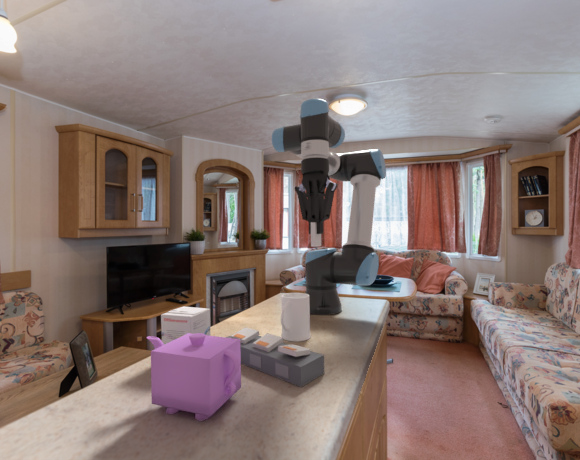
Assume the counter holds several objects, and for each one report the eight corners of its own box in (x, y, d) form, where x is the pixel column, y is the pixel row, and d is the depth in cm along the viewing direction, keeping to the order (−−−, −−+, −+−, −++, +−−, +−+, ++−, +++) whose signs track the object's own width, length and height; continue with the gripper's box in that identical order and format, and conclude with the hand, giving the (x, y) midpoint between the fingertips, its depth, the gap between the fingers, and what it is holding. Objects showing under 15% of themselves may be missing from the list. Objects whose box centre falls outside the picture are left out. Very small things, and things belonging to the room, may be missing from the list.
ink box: (212, 353, 84) (211, 307, 84) (191, 367, 76) (190, 316, 76) (183, 349, 86) (182, 305, 86) (160, 362, 78) (160, 313, 78)
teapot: (253, 398, 62) (252, 330, 61) (224, 429, 52) (222, 350, 52) (166, 381, 68) (165, 321, 68) (126, 407, 59) (125, 337, 59)
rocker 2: (268, 336, 80) (267, 332, 80) (283, 341, 77) (282, 336, 77) (253, 347, 77) (252, 342, 76) (268, 352, 73) (267, 347, 73)
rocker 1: (246, 330, 86) (245, 326, 85) (259, 334, 82) (258, 330, 82) (231, 339, 82) (230, 335, 82) (244, 343, 79) (243, 339, 78)
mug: (292, 347, 87) (292, 302, 87) (267, 341, 92) (267, 298, 92) (316, 335, 96) (315, 294, 96) (292, 330, 102) (292, 291, 101)
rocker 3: (292, 348, 75) (293, 343, 75) (310, 354, 72) (310, 348, 72) (277, 351, 71) (278, 345, 71) (295, 356, 68) (296, 350, 68)
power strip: (230, 341, 92) (230, 327, 92) (324, 373, 71) (324, 354, 71) (206, 350, 86) (205, 334, 86) (300, 387, 65) (300, 367, 65)
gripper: (287, 160, 91) (288, 246, 91) (327, 153, 82) (328, 247, 82) (304, 164, 96) (305, 245, 97) (343, 157, 88) (344, 246, 88)
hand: (316, 246), depth 90 cm, fingers closed
